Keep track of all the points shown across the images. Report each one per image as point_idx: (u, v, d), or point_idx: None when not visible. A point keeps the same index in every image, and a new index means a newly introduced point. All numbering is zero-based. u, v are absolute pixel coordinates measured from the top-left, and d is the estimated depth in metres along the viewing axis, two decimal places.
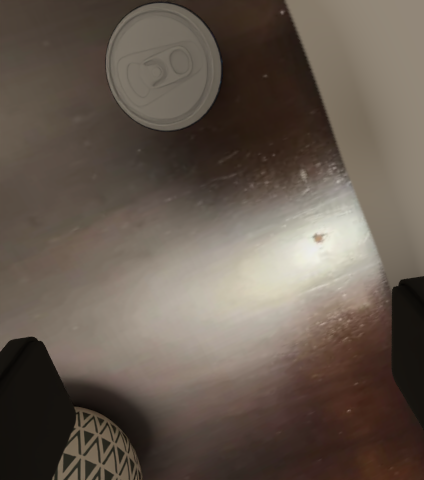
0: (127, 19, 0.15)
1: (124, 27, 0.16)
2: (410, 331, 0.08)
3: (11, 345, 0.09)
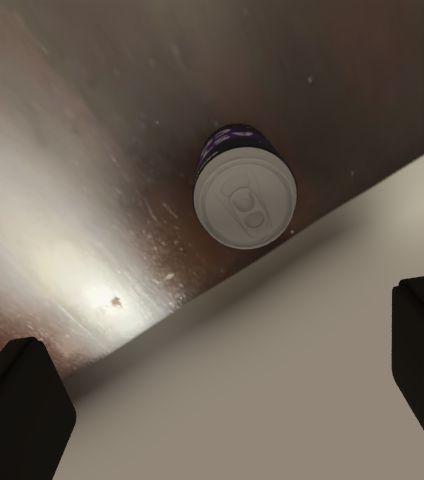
0: (283, 175, 0.18)
1: (276, 171, 0.18)
2: (410, 331, 0.08)
3: (11, 345, 0.09)
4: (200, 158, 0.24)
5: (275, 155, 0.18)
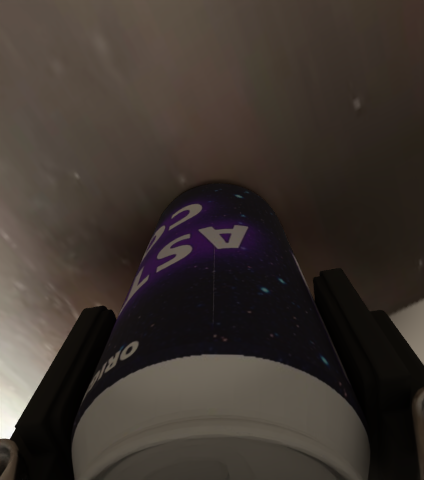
0: (345, 475, 0.05)
1: None
2: (323, 316, 0.09)
3: (87, 312, 0.10)
4: None
5: (314, 375, 0.06)
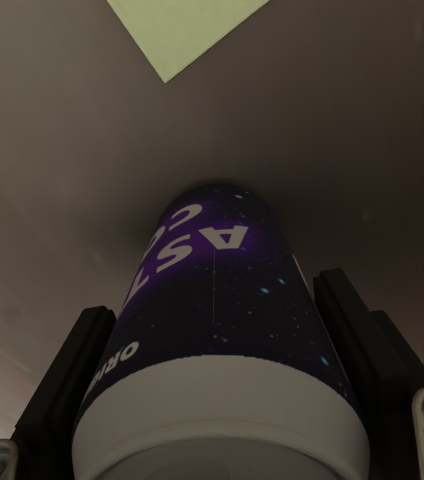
0: (345, 476, 0.05)
1: None
2: (323, 316, 0.09)
3: (87, 312, 0.10)
4: None
5: (314, 375, 0.06)
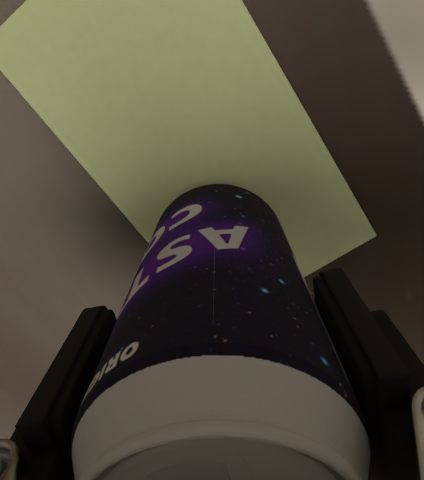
0: (345, 476, 0.05)
1: None
2: (323, 316, 0.09)
3: (87, 312, 0.10)
4: None
5: (314, 376, 0.06)
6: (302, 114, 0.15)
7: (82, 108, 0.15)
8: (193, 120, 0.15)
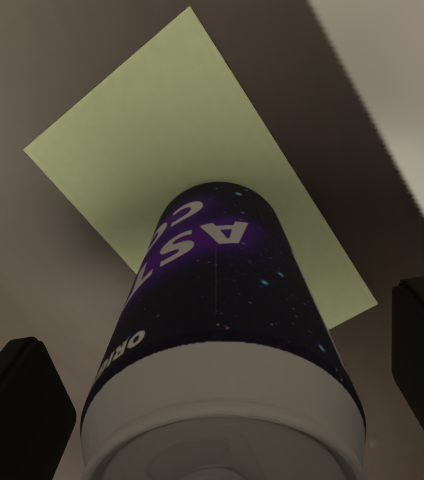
0: (341, 453, 0.05)
1: None
2: (410, 331, 0.08)
3: (11, 345, 0.09)
4: (140, 266, 0.12)
5: (311, 361, 0.06)
6: (310, 204, 0.16)
7: (113, 199, 0.16)
8: None
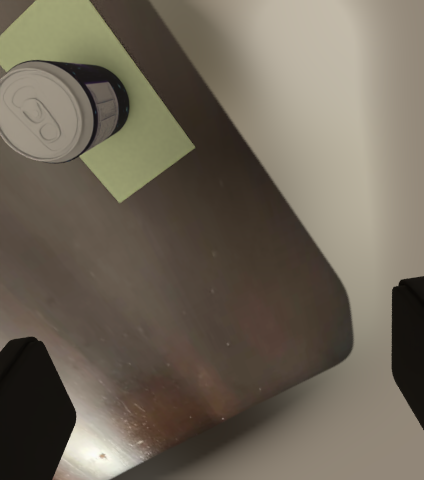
0: (63, 85, 0.19)
1: (59, 82, 0.19)
2: (410, 331, 0.08)
3: (11, 345, 0.09)
4: None
5: (64, 70, 0.20)
6: (145, 82, 0.30)
7: None
8: None
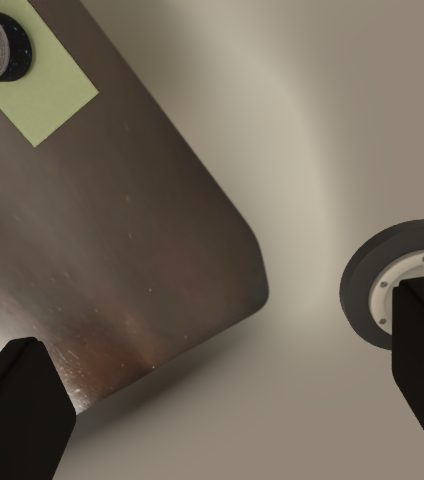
0: None
1: None
2: (410, 331, 0.08)
3: (11, 345, 0.09)
4: None
5: None
6: (47, 29, 0.33)
7: None
8: None
